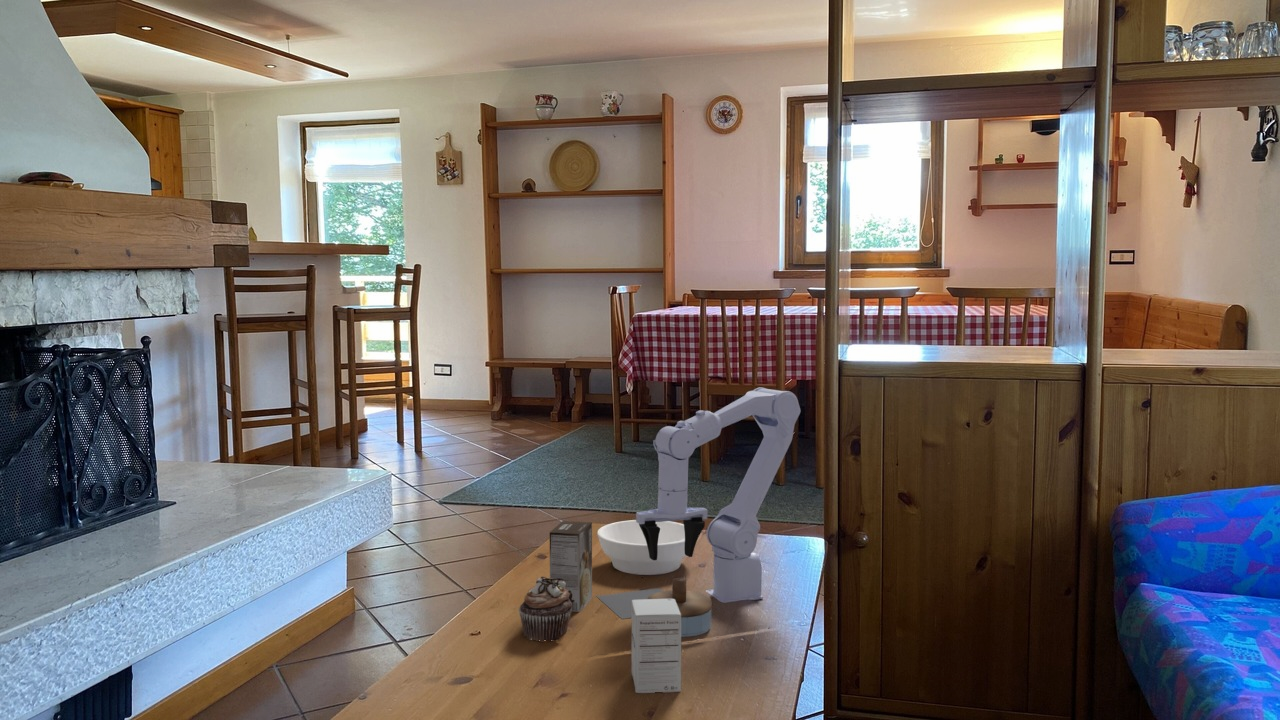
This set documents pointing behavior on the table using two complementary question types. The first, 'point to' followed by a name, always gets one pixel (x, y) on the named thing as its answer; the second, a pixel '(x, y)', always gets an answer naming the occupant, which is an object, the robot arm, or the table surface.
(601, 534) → the bowl
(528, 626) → the cupcake
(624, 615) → the mat
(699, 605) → the lid
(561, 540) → the coffee box
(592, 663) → the table surface
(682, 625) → the small bowl
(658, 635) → the supplement box
